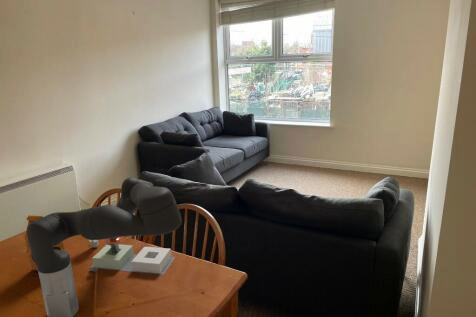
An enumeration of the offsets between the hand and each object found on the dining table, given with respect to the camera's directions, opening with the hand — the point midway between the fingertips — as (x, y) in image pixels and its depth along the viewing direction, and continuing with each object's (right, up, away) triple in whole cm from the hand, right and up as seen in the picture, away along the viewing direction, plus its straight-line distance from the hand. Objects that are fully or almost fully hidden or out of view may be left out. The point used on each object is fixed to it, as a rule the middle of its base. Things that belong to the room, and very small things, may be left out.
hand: (109, 232), depth 143 cm
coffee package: (-23, -14, 0) cm, 27 cm away
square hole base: (+9, -13, 0) cm, 16 cm away
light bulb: (-12, -10, +15) cm, 21 cm away
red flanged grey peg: (+2, -8, 0) cm, 8 cm away
